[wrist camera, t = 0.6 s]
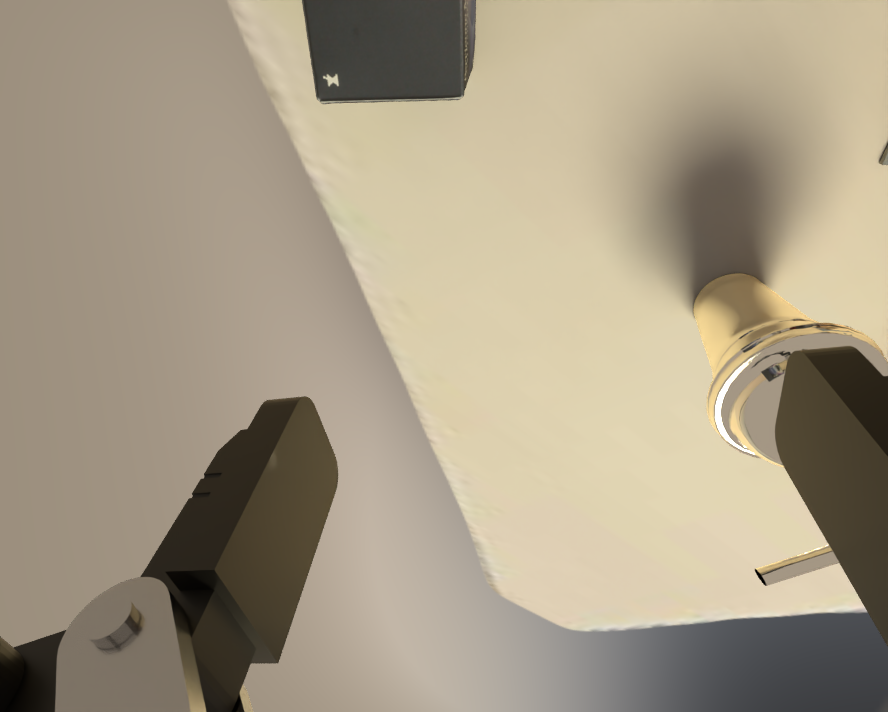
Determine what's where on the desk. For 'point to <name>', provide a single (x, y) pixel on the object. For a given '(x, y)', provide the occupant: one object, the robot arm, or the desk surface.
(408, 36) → the small box
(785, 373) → the robot arm
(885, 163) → the code tile
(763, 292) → the cup with straw
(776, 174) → the desk surface
